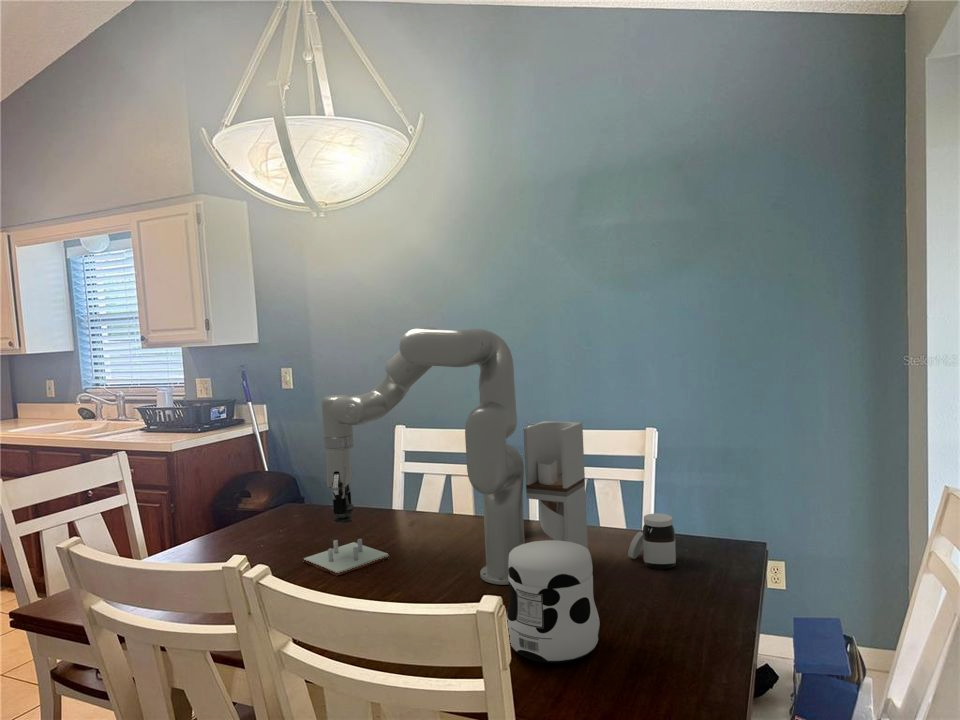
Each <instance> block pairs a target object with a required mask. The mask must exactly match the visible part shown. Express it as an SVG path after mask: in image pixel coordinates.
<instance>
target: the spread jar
mask: <svg viewBox="0 0 960 720" xmlns="http://www.w3.org/2000/svg"><path fill="white" fill-rule="evenodd" d="M673 521H674V520H673V516H671V515H669V514H665V513H649V514H645V515H644V516H643V523H644V524H643V526H642V531H638V532H637V533H636V534H634V537H633V538H632V540H631V542H630V544H629V547H628V552H627V555H628V557H629V558H631V559H633V560H635V559H637V558H638V557H639V556H640V554H641V552H642V555H643V556H642V557H643V563H644V565H645V566H646V567H647V568H651V569H654V570H668V569H672V568H674V567H675V566H676V564H677V563H676V562H677V555H676V553H677V551H676V531H675V528H674V525H673V524H674V523H673Z"/></svg>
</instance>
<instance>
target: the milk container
mask: <svg viewBox="0 0 960 720" xmlns="http://www.w3.org/2000/svg"><path fill="white" fill-rule="evenodd" d="M508 566H509V576H508V581H509V585H508V590H509V592H508V593H509V599H508V601H509V602H508V607H507V612H506V616H507V620H508V628H509V635H510V642H509V644H510V643H511V644H510V647H512V649H513V650H514V651H515V653H517V654H519V655H520V656H522V657H524V658H525V659H528V660H530V661H534V662H538V663H542V664H543V663H544V664H545V663H546V664H562V663H563V664H564V663H572V662H573V661H577V660H579V659H583V658H584V657H586V656H587V655H588V654H590V653H592V652H593V651H594V650H595V648H596V646H597V644H598V641H599V638H600V637H599V636H600V629H601V628H600V627H601V623H600V617H599V613H598V609H597V607H596V603H595V599H594V576H593V568H594V567H593V559H592V555H591V553H590V550H589V548H588V549H587V548H585V547H584V546H582V545H579V544H576V543H573V542H567V541H559V540H552V539H551V540H550V539H549V540H548V539H546V540H538V541H537V540H536V541H530V542H526V543H525V544H522V545H520V546H517V547H515V548H514V549H513V550H512V551H511V552H510V553H509V562H508Z"/></svg>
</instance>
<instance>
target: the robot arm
mask: <svg viewBox="0 0 960 720" xmlns="http://www.w3.org/2000/svg"><path fill="white" fill-rule="evenodd" d="M475 365H478V366H479V378H478V391H479V405H478V406H477V407H475V408H473V409H472V411H471V412H470V413H469V415H468V416H467V418H466V421H465V427H464V428H465V429H464V437H465V439H464V440H465V454H466V455H465V459H466V471H467V478H468V481H469V483H470V485H471V486H472V487H473V489H474V490H475V491H477V492H478V493H480V494H483V497H482V498H483V501H482V502H483V503H482V505H483V507H482V508H483V524H484V525H483V527H484V528H483V529H484V546H485V547H484V548H485V563H486V564H485V566H483V567H481V569H480V573H479V574H480V579H482V580H483V581H484V582H486V583H488V584H492V585H501V586H502V585H503V586H504V585H506V586H509V581H508V576H509V566H508V562H509V553H510V552H511V551H512V550H513V549H514V548H515V547H517V546H520V545H522V544H526V543H525V542H526V541H525V526H524V524H525V523H524V496H523V495H524V494H523V493H524V492H523V491H524V489H523V488H524V476H525V473H524V472H525V463H524V460H523V457H522V455H521V453H520V452H519V450H517V448H515V447H514V446H512V445H511V444H507V443H506V441H507V440H506V439H508V438H510V437H511V436H512V435H513V434H514V433H515V431H516V429H517V426H518V417H517V414H518V413H517V401H516V388H515V372H514V371H515V370H514V369H515V368H514V359H513V354H512V352H511V349H510V348H509V345H508V344H507V343H506V341H505V340H504V339H503V338H502V337H501V336H499V335H498V334H496V333H494V332H492V331H489V330H486V329H483V328H469V329H461V330H460V329H459V330H457V329H456V330H455V329H453V330H452V329H451V330H449V329H439V328H436V327H432V326H422V327H415V328H411V329H409V330H407V331H406V332H405V333H404V334H403V335H402V337H401V339H400V341H399V350H398V351H397V352H396V353H395V354H394V355H393V356H392V357H391V358H390V359H388V360H387V362H386V363H385V366H384V367H385V368H384V369H385V371H386V375H385V377H384V378H383V380H382V381H381V382H380V383H378V384H377V385H376V386H375V387H374V388H373V389H372V390H371V391H370V392H365V393H361V394H356V395H352V396H349V395H346V394H333V395H326V396H324V397H323V398H322V401H321V411H322V412H321V413H322V414H321V415H322V416H321V417H322V429H323V445H324V446H323V447H324V450H325V451H327V452H326V487H327V488H328V489H331V488H332V502H333V503H332V505H333V506H334V514H346V512H347V509H346V498H344V497H345V487H346V486H347V491H348V492H349V493H348V501H349V504H352V493H351V485H350V483H351V480H352V477H353V472H352V455H351V449H352V448H354V431H353V430H354V429H353V428H354V426H363V425H365V424H368V423H370V422H374V421H377V420H380V419H382V418H383V417H385V416H386V415H387V414H388V413H390V411H392V410H393V409H394V408H395V407H396V406H397V405H399V403H401V401H402V400H403V399H404V397H405V396H406V395H407V393H408V392H409V391H410V388H411V387H413V385H414V384H415V383H416V382H417V381H419V380H420V378H422V377H423V376H424V375H425V374H426V373H427V372H428V371H429V370H430V369H431V368H432V367H445V368H446V367H447V368H448V367H449V368H467V367H470V366H475ZM339 484H342V486H339ZM339 489H342V493H341V490H339ZM333 506H332V507H333ZM334 514H333V515H334Z"/></svg>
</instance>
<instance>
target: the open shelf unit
mask: <svg viewBox="0 0 960 720" xmlns="http://www.w3.org/2000/svg"><path fill="white" fill-rule="evenodd" d="M583 428H584V427H583V422H576V421H575V422H573V421H548V420H543V421H540V422H538V423H535V424H532V425H529V426H525V427H524V428H523V429H522V430H523V444H524V445H523V446H524V447H523V448H524V449H523V450H524V472H525V473H524V475H525V488H526V489H525V491H526V493H525V494H526V499H529V500H530V499H531V500H538V503H539V520H540V522H539V524H540V527H541V529H542V531H543V532H544V533H545V534H546V535H547V536H548V537H549V538H550V539H551V540H559V541H567V542H573V543H576V544H579V545H582V546H584V547H585V548H587V549H588V550H589V545H588V525H587V523H588V522H587V520H588V519H587V502H586V501H587V499H586V496H587V495H586V477H585V474H586V473H585V452H584V431H583Z"/></svg>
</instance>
